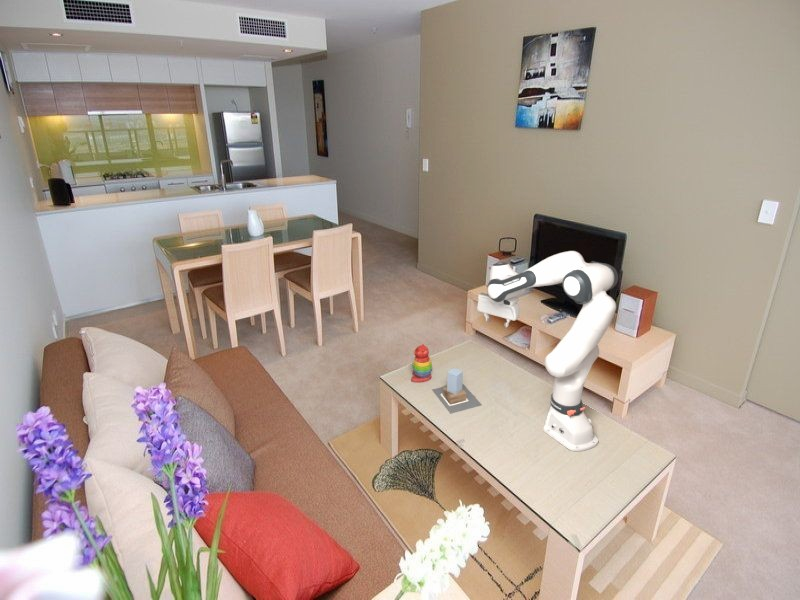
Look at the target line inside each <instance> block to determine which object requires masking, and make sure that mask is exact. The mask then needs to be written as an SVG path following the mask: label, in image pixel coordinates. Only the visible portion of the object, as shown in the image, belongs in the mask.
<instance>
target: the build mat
mask: <svg viewBox="0 0 800 600" xmlns="http://www.w3.org/2000/svg"><path fill="white" fill-rule="evenodd" d="M444 387H447V385H444V386H441V387H440V386H439V387H437V388H432V389H431V391H432V392H433V393H434V395H435V396H436V397H437V399H438V400H439V401H440V402H441V404H442V405H443V406H444V408H445V409H446V410H447V411H448V413H449V414H451V415H452V414H455V413H459V412H463V411H466V410H470V409H473V408H474V409H475V408H477V407H482V406H483V404H482V403H481V402H480V401H479V400H478V399H477V397H476V396H474V394H473V393H472V392H471V391H470V390H469V388H468V387H467V386H466V385H465V384H464V383H463V382H462V389H463V390H464V391H465V392H466V401H462V402H458V403H454V404H450V403H449V402H448V401H447V400H446V398H445V397H444V396H443V388H444Z"/></svg>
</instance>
